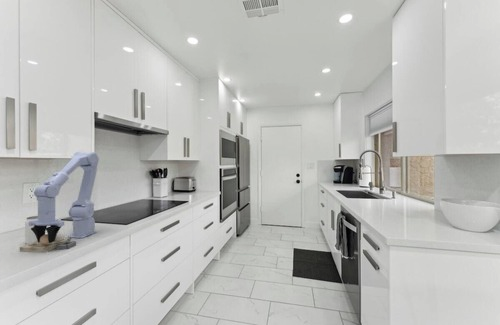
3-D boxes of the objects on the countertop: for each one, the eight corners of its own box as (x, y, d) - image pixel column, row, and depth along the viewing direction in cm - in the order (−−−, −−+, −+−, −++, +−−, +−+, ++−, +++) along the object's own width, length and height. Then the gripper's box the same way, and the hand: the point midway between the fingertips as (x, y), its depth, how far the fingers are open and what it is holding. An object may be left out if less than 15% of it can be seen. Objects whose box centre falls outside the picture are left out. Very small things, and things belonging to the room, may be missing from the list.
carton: (46, 241, 106) (46, 237, 106) (70, 241, 105) (70, 238, 105) (19, 251, 94) (19, 247, 94) (46, 252, 93) (46, 247, 93)
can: (47, 239, 108) (47, 215, 108) (35, 244, 102) (35, 218, 102) (34, 239, 108) (34, 215, 108) (20, 244, 102) (20, 218, 102)
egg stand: (66, 244, 102) (66, 241, 102) (77, 244, 102) (77, 241, 102) (55, 249, 97) (55, 245, 97) (67, 249, 96) (67, 245, 96)
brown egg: (36, 245, 95) (36, 235, 94) (46, 242, 99) (46, 232, 99) (46, 246, 94) (46, 235, 94) (55, 242, 99) (55, 232, 99)
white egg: (58, 239, 105) (58, 230, 105) (67, 240, 105) (67, 230, 105) (49, 243, 100) (49, 233, 100) (58, 243, 100) (58, 233, 100)
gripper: (21, 213, 93) (21, 245, 93) (54, 213, 92) (53, 245, 92) (37, 209, 100) (37, 239, 100) (68, 210, 99) (68, 239, 99)
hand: (46, 241), depth 97 cm, fingers closed on brown egg, 4 cm apart
